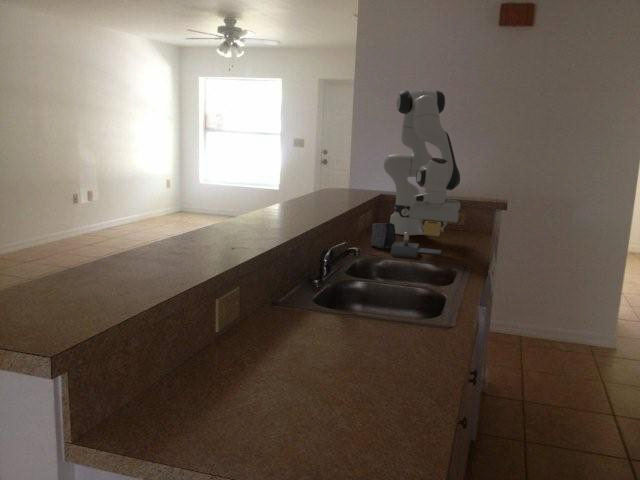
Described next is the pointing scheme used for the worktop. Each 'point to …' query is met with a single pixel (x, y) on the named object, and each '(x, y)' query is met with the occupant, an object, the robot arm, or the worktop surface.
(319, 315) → the worktop surface
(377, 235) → the stone
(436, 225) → the ring
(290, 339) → the worktop surface
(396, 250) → the post block
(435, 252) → the mat
